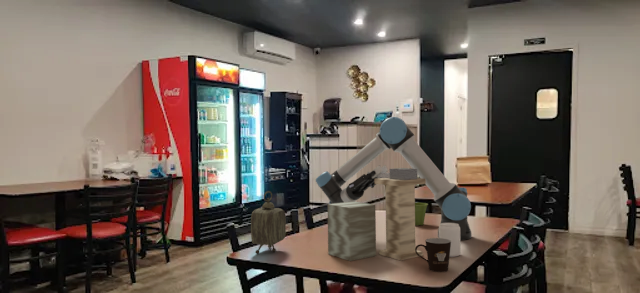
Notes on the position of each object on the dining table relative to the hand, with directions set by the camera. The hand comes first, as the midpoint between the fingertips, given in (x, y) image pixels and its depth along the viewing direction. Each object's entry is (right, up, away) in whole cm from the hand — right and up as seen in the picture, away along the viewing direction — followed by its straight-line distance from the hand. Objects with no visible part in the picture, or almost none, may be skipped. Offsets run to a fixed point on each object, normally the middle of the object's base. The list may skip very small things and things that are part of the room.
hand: (383, 168), depth 185 cm
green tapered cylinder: (+26, -33, +59) cm, 72 cm away
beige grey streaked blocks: (-4, -34, -7) cm, 35 cm away
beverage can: (+25, -34, -8) cm, 43 cm away
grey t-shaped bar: (+2, -4, -3) cm, 5 cm away
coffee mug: (+14, -34, -28) cm, 46 cm away
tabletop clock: (-47, -35, +1) cm, 58 cm away
